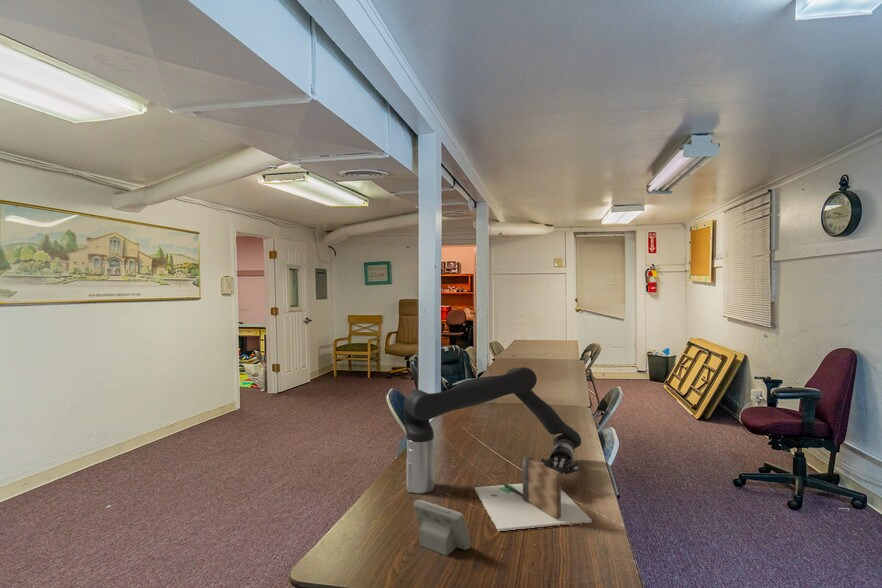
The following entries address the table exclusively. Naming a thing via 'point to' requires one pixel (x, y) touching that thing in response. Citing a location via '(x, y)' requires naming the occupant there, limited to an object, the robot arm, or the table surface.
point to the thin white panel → (524, 509)
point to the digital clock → (441, 528)
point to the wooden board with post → (541, 487)
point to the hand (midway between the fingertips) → (556, 474)
